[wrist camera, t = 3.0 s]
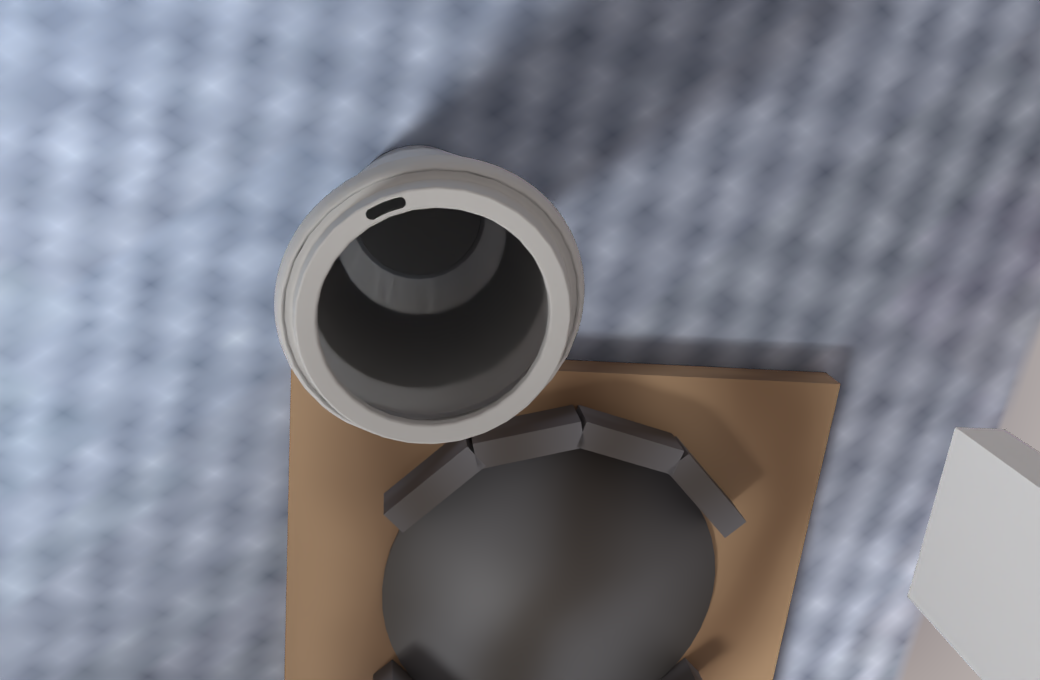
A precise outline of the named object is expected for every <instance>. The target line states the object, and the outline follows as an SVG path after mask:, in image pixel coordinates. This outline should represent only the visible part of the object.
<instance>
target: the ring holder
mask: <svg viewBox="0 0 1040 680" xmlns="http://www.w3.org/2000/svg"><path fill="white" fill-rule="evenodd" d="M839 389H840V383H838V382H837V381H836V380H835V379H833V378H832V377H831V376H830V375H828V374H827V373H824V372H804V371H784V370H763V369H743V368H722V367H702V366H681V365H661V364H641V363H620V362H600V361H579V360H565V361H564V362H563V364H562V365H561V367H560V368H559V370H558V371H557V373H556V374H555V376H554V377H553V379H552V380H551V381H550V382H549V383H548V384H547V385H546V386H545V388H544V389H543V390H542V391H541V392H540V393H539V394H538V396H537V397H536V398H535V399H534V400H533V401H532V402H531V403H530V404H529V405H528V406H527V407H526V408H524V409H523V410H522V411H521V412H519V413H518V414H517V415H515V416H514V417H513V418H511V419H510V420H508V421H507V422H505V423H503V424H501V425H499V426H497V427H496V428H494V429H492V430H490V431H488V432H485V433H483V434H480V435H477V436H474V437H470V438H467V439H464V440H460V441H454V442H447V443H438V444H419V443H407V442H402V441H397V440H393V439H388V438H384V437H381V436H379V435H376V434H373V433H370V432H368V431H366V430H363V429H361V428H358V427H356V426H353V425H351V424H349V423H346V422H345V421H343V420H341V419H340V418H338V417H336V416H335V415H333V414H332V413H331V412H329V411H328V410H327V409H325V408H324V407H323V406H322V405H321V404H320V403H319V402H318V401H317V400H316V399H315V398H314V397H313V396H312V395H311V394H310V393H309V392H308V391H307V390H306V389H305V388H304V387H303V385H302V384H301V382H300V381H299V379H298V378H297V376H296V375H295V373H294V372H293V370H292V368H291V401H290V447H289V494H288V540H287V586H286V633H285V679H284V680H773V676H774V672H775V667H776V663H777V659H778V654H779V650H780V646H781V641H782V637H783V632H784V628H785V624H786V619H787V615H788V611H789V606H790V602H791V598H792V593H793V589H794V585H795V580H796V576H797V571H798V567H799V563H800V558H801V554H802V550H803V545H804V541H805V537H806V532H807V528H808V524H809V519H810V515H811V511H812V506H813V502H814V497H815V493H816V489H817V484H818V480H819V476H820V471H821V467H822V463H823V458H824V454H825V450H826V445H827V441H828V436H829V432H830V428H831V423H832V419H833V415H834V410H835V406H836V402H837V397H838V393H839Z"/></svg>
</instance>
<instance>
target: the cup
mask: <svg viewBox="0 0 1040 680" xmlns="http://www.w3.org/2000/svg"><path fill="white" fill-rule="evenodd" d="M583 303H584V274H583V267H582V262H581V257H580V254H579V250H578V247H577V244H576V242H575V239H574V237H573V235H572V233H571V231H570V229H569V227H568V225H567V224H566V222H565V220H564V219H563V217H562V216H561V214H560V213H559V212H558V210H557V209H556V208H555V207H554V205H553V204H552V203H551V202H550V201H549V200H548V199H547V198H546V197H545V196H544V195H543V194H542V193H541V192H540V191H538V190H537V189H536V188H535V187H534V186H532V185H531V184H529V183H528V182H527V181H525V180H524V179H522V178H521V177H519V176H517V175H515V174H513V173H512V172H510V171H508V170H505V169H503V168H501V167H499V166H496V165H493V164H491V163H487V162H484V161H481V160H477V159H472V158H468V157H461V156H459V155H456V154H453V153H449V152H446V151H444V150H441V149H438V148H435V147H430V146H423V145H411V146H404V147H400V148H397V149H394V150H391V151H389V152H387V153H385V154H383V155H381V156H380V157H378V158H377V159H376V160H374V161H373V162H372V163H371V164H370V165H368V166H367V167H366V168H365V169H364V170H362V171H361V172H360V173H359V174H357V175H356V176H354V177H353V178H351V179H349V180H347V181H346V182H344V183H343V184H341V185H340V186H338V187H337V188H336V189H334V190H333V191H332V192H331V193H329V194H328V195H327V196H326V197H325V198H323V199H322V200H321V201H320V202H319V203H318V204H317V205H316V206H315V207H314V208H313V209H312V211H311V212H310V213H309V214H308V215H307V216H306V218H305V219H304V220H303V222H302V223H301V224H300V226H299V227H298V229H297V230H296V232H295V233H294V235H293V237H292V239H291V241H290V242H289V244H288V247H287V249H286V251H285V253H284V256H283V258H282V261H281V264H280V268H279V271H278V275H277V280H276V286H275V295H274V313H275V322H276V328H277V333H278V337H279V341H280V344H281V347H282V349H283V352H284V354H285V357H286V359H287V361H288V363H289V365H290V367H291V368H292V370H293V372H294V373H295V375H296V376H297V378H298V379H299V381H300V382H301V384H302V385H303V387H304V388H305V389H306V390H307V391H308V392H309V393H310V394H311V395H312V396H313V397H314V398H315V399H316V400H317V401H318V402H319V403H320V404H321V405H322V406H323V407H324V408H325V409H327V410H328V411H329V412H331V413H332V414H333V415H335V416H336V417H338V418H340V419H341V420H343V421H345V422H346V423H349V424H351V425H353V426H356V427H358V428H361V429H363V430H366V431H368V432H370V433H373V434H376V435H379V436H381V437H384V438H388V439H393V440H397V441H402V442H407V443H419V444H438V443H447V442H454V441H460V440H464V439H467V438H470V437H474V436H477V435H480V434H483V433H485V432H488V431H490V430H492V429H494V428H496V427H497V426H499V425H501V424H503V423H505V422H507V421H508V420H510V419H511V418H513V417H514V416H515V415H517V414H518V413H519V412H521V411H522V410H523V409H524V408H526V407H527V406H528V405H529V404H530V403H531V402H532V401H533V400H534V399H535V398H536V397H537V396H538V394H539V393H540V392H541V391H542V390H543V389H544V388H545V386H546V385H547V384H548V383H549V382H550V381H551V380H552V379H553V377H554V376H555V374H556V373H557V371H558V370H559V368H560V367H561V365H562V364H563V362H564V361H565V359H566V358H567V356H568V354H569V352H570V349H571V347H572V344H573V342H574V339H575V337H576V334H577V332H578V330H579V326H580V321H581V317H582V312H583Z"/></svg>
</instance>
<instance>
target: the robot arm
mask: <svg viewBox="0 0 1040 680" xmlns="http://www.w3.org/2000/svg"><path fill="white" fill-rule="evenodd" d="M907 597H908V598H909V599H910V600H911V601H912V602H913V603H914V605H915V606H916V607H917V608H918V609H919V610H920V611H921V612H922V613H923V615H924V616H925V617H926V618H927V619H928V620H929V621H930V622H931V623H932V625H933V626H934V627H935V628H936V629H937V630H938V631H939V633H941V635H942V636H943V637H944V638H945V639H946V640H947V641H948V643H949V644H950V645H951V646H952V647H953V648H954V649H955V650H956V652H957V653H959V655H960V656H961V657H962V658H963V659H964V660H965V662H966V663H967V664H968V665H969V666H970V667H971V668H972V669H973V671H974V672H975V673H976V674H977V675H978V676H979V677H980V678H981V680H1040V452H1039V451H1037V450H1035V449H1034V448H1032V447H1031V446H1029V445H1028V444H1026V443H1025V442H1023V441H1022V440H1020V439H1019V438H1017V437H1016V436H1014V435H1013V434H1011V433H1010V432H1008V431H1007V430H1005V429H986V428H962V427H955V430H954V434H953V437H952V441H951V444H950V448H949V451H948V455H947V458H946V462H945V465H944V469H943V472H942V476H941V479H940V483H939V487H938V490H937V494H936V497H935V501H934V504H933V508H932V511H931V515H930V518H929V522H928V525H927V529H926V533H925V536H924V540H923V543H922V547H921V550H920V554H919V557H918V561H917V564H916V568H915V571H914V575H913V579H912V582H911V586H910V589H909V593H908V596H907Z"/></svg>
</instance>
